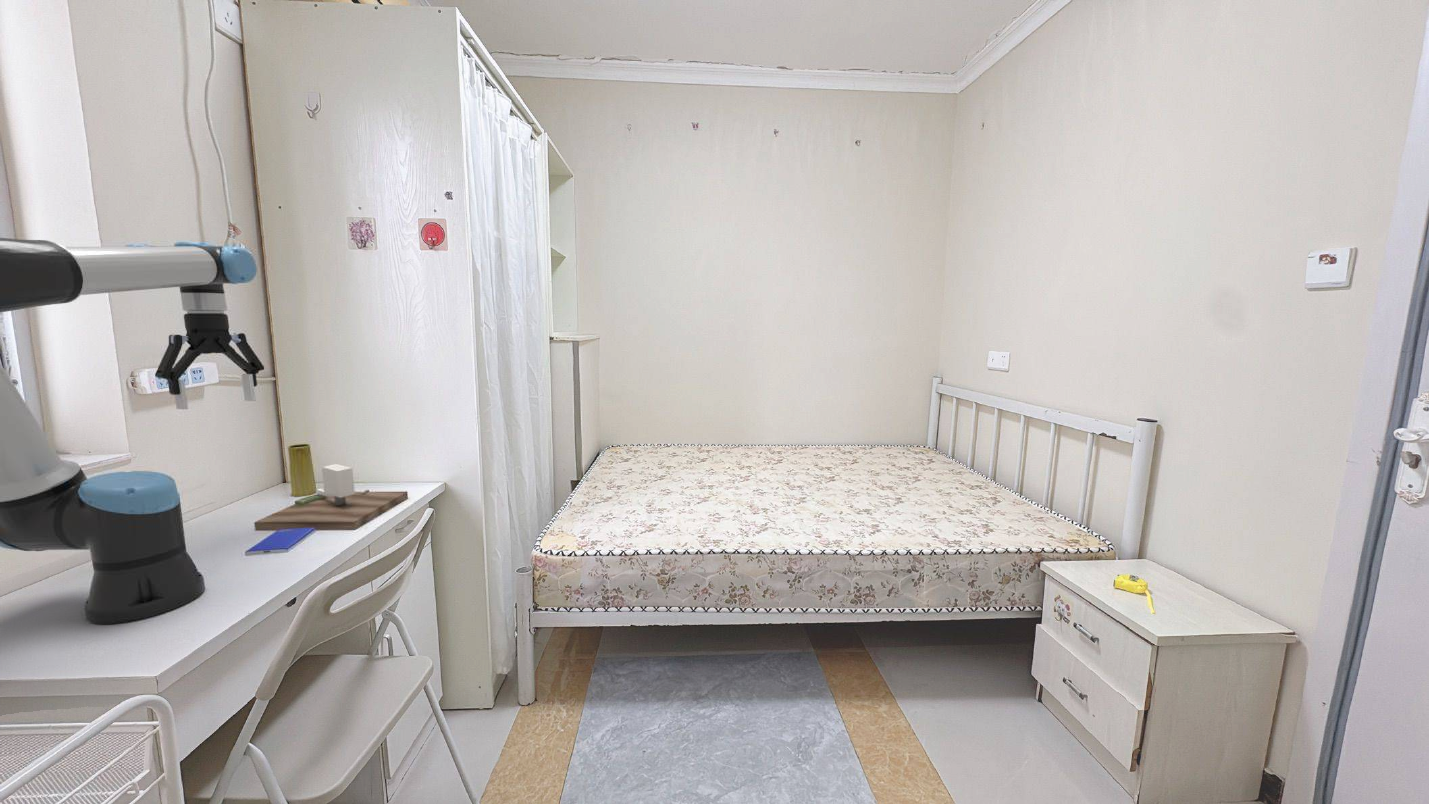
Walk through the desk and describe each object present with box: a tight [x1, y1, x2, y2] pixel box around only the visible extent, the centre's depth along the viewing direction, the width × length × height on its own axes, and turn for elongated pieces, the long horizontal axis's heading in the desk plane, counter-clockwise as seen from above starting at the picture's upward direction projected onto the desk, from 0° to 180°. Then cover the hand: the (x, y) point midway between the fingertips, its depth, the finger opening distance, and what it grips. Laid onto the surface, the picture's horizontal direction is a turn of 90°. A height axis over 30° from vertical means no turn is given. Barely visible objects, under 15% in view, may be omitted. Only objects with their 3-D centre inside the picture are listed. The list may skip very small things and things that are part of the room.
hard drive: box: [244, 528, 317, 556], centre depth 128 cm, size 2×8×12 cm
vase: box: [287, 443, 317, 497], centre depth 163 cm, size 6×6×14 cm
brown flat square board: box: [253, 489, 409, 531], centre depth 147 cm, size 24×24×3 cm
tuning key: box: [315, 463, 356, 506], centre depth 148 cm, size 16×4×10 cm, turn 59°
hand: (218, 404), depth 131 cm, fingers open, 13 cm apart
